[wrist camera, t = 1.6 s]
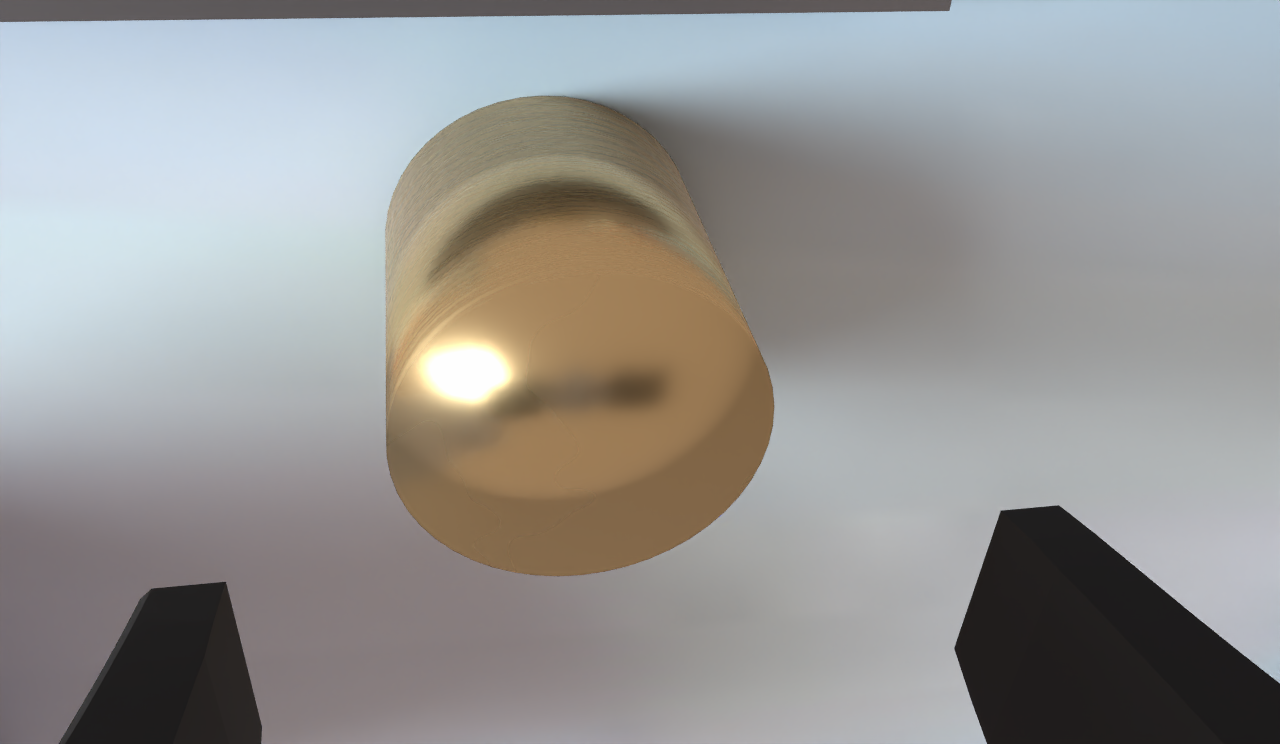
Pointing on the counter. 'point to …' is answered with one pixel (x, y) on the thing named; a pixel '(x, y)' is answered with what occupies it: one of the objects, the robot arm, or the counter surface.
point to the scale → (421, 8)
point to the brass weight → (562, 345)
